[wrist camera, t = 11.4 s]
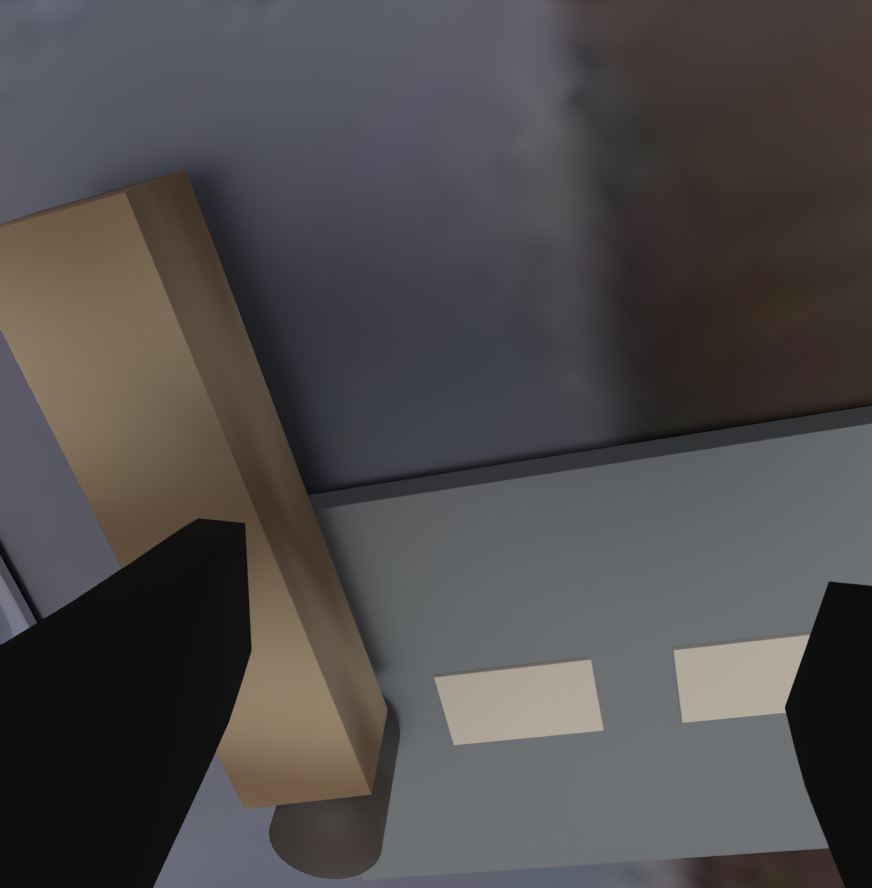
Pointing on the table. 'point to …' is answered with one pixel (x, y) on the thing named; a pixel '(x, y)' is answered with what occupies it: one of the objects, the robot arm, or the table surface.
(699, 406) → the table surface
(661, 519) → the label board
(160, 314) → the bar
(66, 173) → the table surface
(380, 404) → the table surface
